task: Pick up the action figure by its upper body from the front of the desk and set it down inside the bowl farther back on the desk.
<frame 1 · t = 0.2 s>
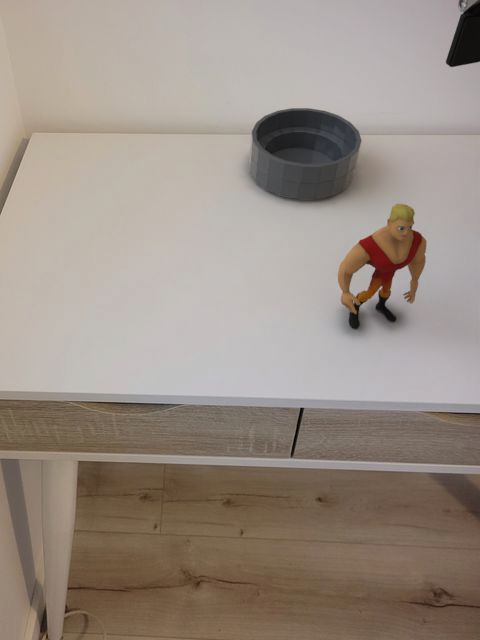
bowl: (300, 171, 85), on the table
action figure: (369, 319, 67), on the table
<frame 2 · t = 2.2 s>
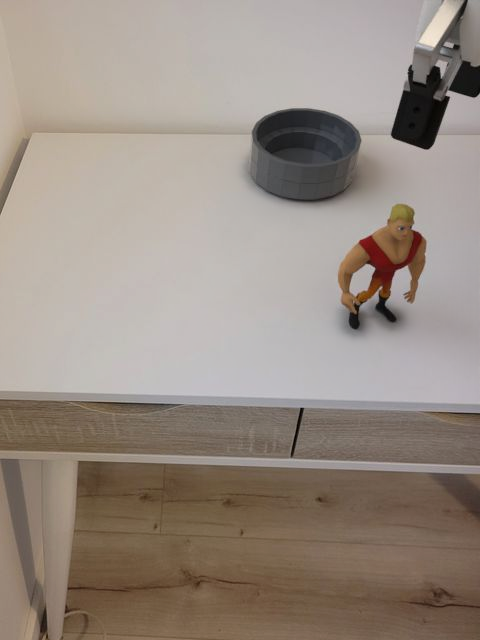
hand: (436, 116, 49), 24 cm above the table, tool pointing down, fingers open, 9 cm apart
nothing on the table moved.
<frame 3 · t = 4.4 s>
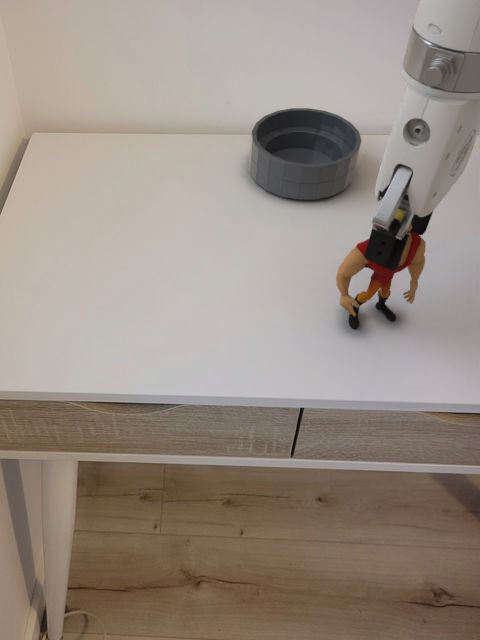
hand: (395, 244, 59), 10 cm above the table, tool pointing down, fingers closed on action figure, 5 cm apart
action figure: (369, 318, 67), on the table, touching gripper
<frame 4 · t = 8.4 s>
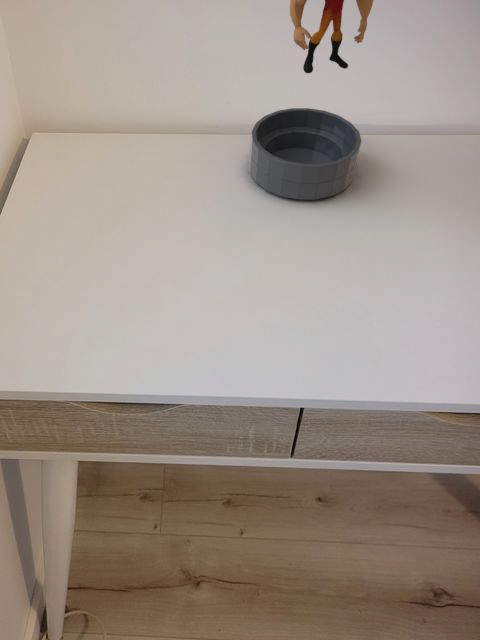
action figure: (323, 68, 71), point 16 cm above the table, touching gripper
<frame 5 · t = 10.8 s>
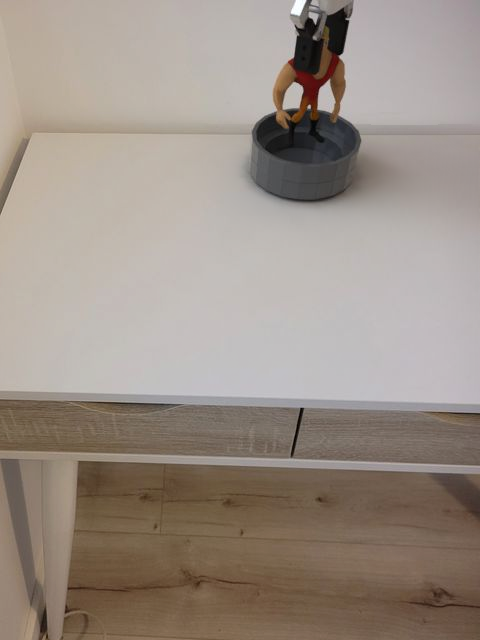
hand: (318, 59, 73), 15 cm above the table, tool pointing down, fingers closed on action figure, 5 cm apart
action figure: (302, 141, 81), point 5 cm above the table, touching gripper
when the fingers open (11 cm above the table, at t = 12.4 s): action figure stays where it is, resting on bowl.
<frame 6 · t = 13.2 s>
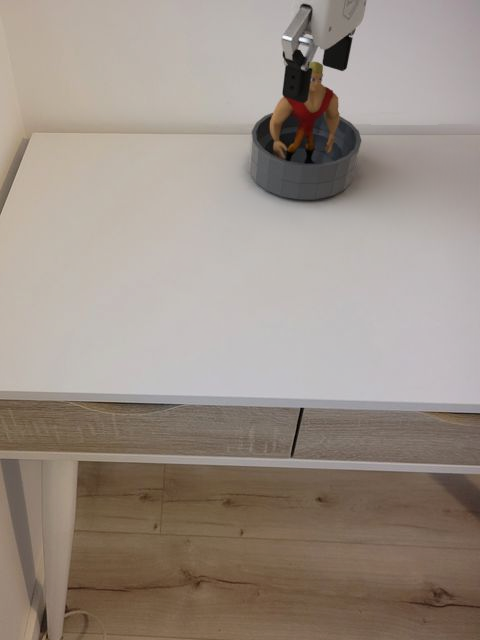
hand: (315, 82, 75), 13 cm above the table, tool pointing down, fingers open, 9 cm apart
action figure: (299, 170, 84), resting on bowl
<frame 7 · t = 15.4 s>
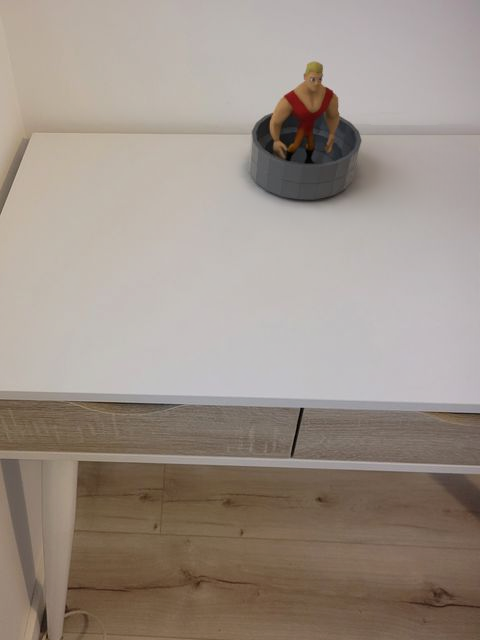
nothing on the table moved.
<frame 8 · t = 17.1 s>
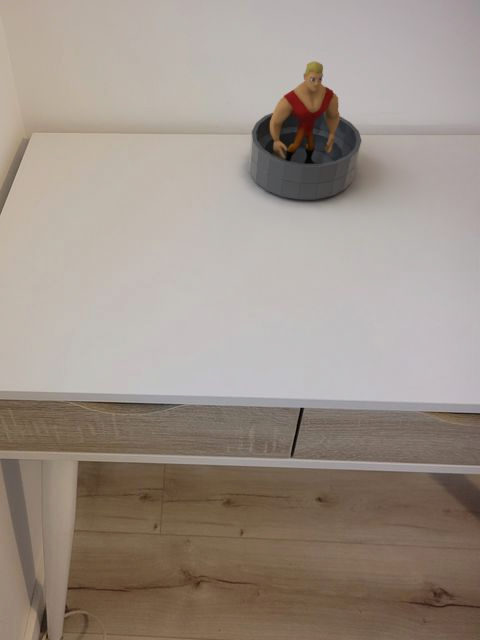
nothing on the table moved.
at the end: action figure inside the target area in the bowl (0.3 cm from its centre), point 0.3 cm above the bowl's base; the gripper is holding nothing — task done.
